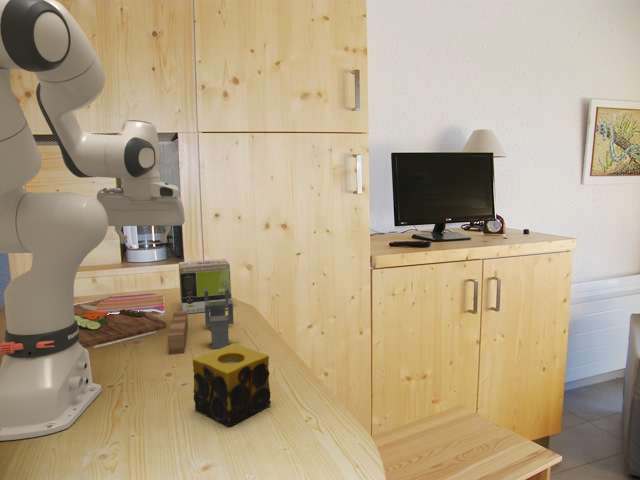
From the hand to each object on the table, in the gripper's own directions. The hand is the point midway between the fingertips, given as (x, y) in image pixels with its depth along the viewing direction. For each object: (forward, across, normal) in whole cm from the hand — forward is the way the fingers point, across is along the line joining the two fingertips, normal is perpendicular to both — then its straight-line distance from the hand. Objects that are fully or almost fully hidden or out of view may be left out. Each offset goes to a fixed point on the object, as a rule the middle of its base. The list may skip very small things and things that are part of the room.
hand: (144, 242), depth 123 cm
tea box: (+27, +16, +21) cm, 38 cm away
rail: (+24, +8, -6) cm, 27 cm away
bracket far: (+24, +18, 0) cm, 31 cm away
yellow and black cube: (+21, +18, -46) cm, 54 cm away
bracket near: (+23, +18, -14) cm, 32 cm away
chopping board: (+27, -16, +16) cm, 35 cm away
